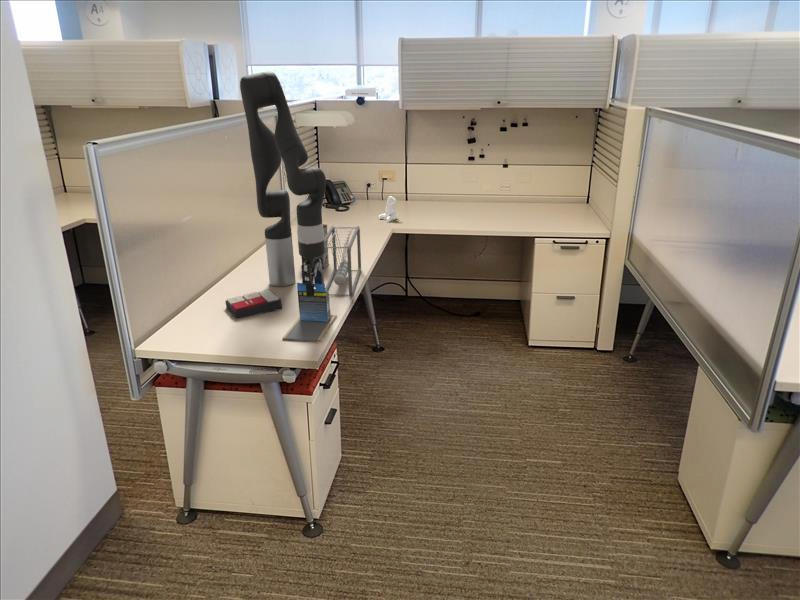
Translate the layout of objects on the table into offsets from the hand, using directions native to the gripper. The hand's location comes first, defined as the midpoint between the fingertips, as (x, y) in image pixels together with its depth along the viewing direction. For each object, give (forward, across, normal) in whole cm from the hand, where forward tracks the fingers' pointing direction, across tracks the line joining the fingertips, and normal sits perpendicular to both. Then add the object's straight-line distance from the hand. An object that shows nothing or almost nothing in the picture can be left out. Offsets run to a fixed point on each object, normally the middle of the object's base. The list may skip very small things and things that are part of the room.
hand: (314, 290), depth 172 cm
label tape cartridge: (+9, 0, 0) cm, 9 cm away
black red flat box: (+11, -7, -23) cm, 26 cm away
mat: (+10, +6, 0) cm, 11 cm away
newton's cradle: (+11, -33, 0) cm, 35 cm away
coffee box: (+11, -53, -16) cm, 56 cm away
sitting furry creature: (+12, -129, +1) cm, 130 cm away
